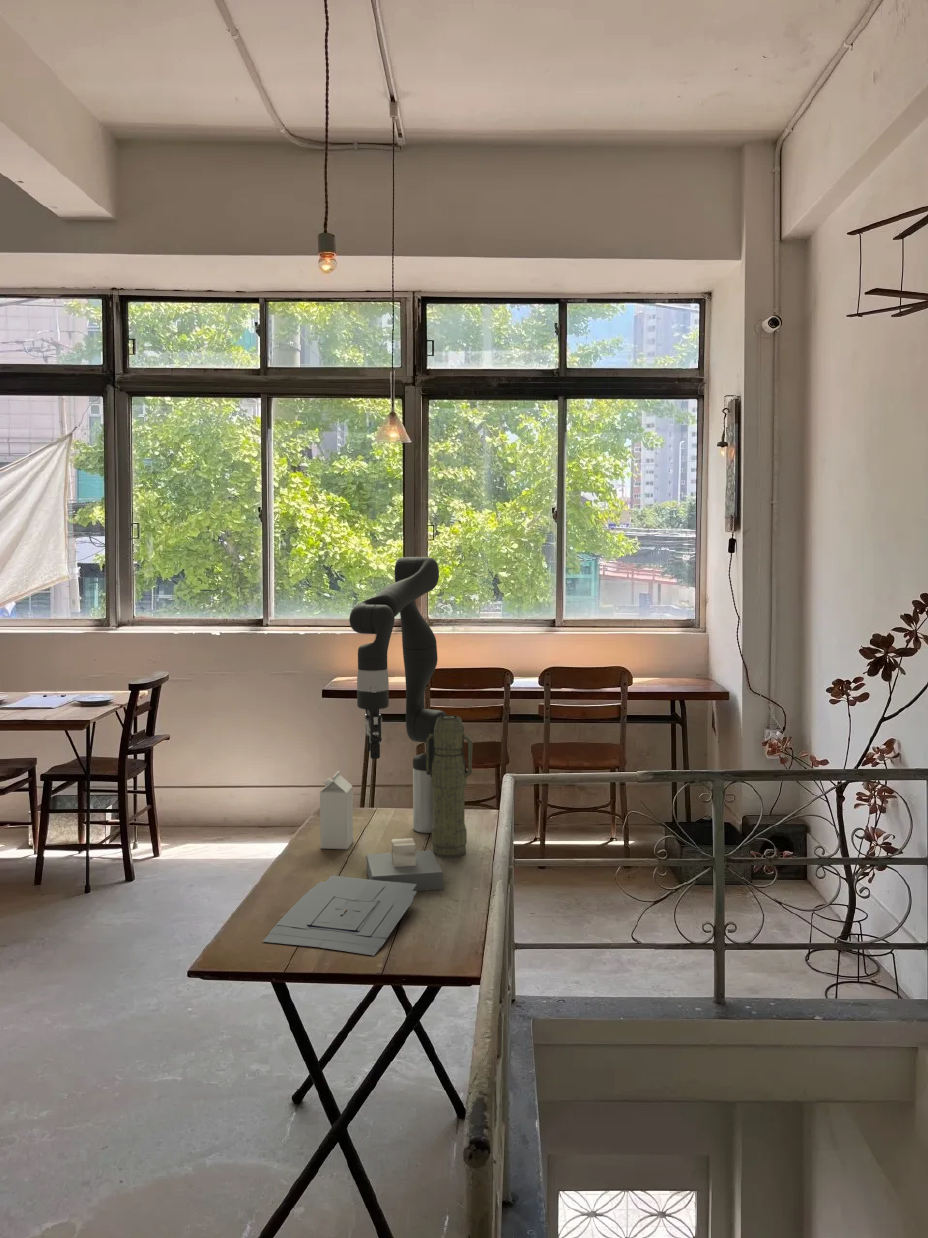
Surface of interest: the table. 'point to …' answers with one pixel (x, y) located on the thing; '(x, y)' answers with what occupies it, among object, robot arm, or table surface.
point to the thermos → (449, 785)
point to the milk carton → (336, 813)
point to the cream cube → (403, 852)
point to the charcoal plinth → (407, 870)
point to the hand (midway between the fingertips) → (373, 754)
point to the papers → (345, 915)
